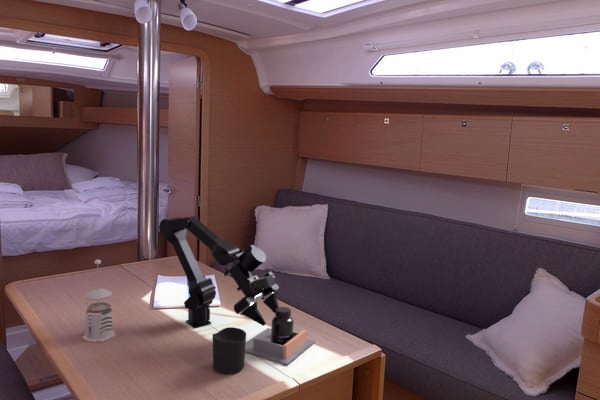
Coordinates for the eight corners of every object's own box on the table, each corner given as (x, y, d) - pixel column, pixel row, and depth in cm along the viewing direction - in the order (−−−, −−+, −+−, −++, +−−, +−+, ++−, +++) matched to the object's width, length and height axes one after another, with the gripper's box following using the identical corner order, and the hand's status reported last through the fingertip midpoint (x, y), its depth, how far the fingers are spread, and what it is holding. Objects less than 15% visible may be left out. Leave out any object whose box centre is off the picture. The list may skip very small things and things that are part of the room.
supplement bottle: (282, 353, 145) (283, 315, 143) (265, 345, 149) (267, 309, 147) (296, 346, 150) (298, 309, 148) (280, 339, 154) (282, 303, 152)
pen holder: (247, 373, 133) (248, 340, 132) (213, 377, 130) (214, 343, 129) (242, 358, 142) (243, 326, 141) (210, 361, 139) (210, 328, 138)
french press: (122, 332, 156) (121, 257, 152) (96, 347, 145) (94, 267, 141) (97, 326, 159) (96, 254, 155) (70, 341, 148) (68, 263, 144)
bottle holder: (236, 350, 147) (237, 335, 146) (267, 329, 163) (268, 316, 162) (287, 365, 138) (288, 350, 138) (315, 342, 154) (315, 329, 154)
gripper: (243, 272, 142) (273, 316, 139) (275, 258, 158) (303, 297, 155) (221, 292, 147) (249, 335, 143) (254, 277, 163) (281, 315, 160)
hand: (272, 319), depth 150 cm, fingers open, 9 cm apart
